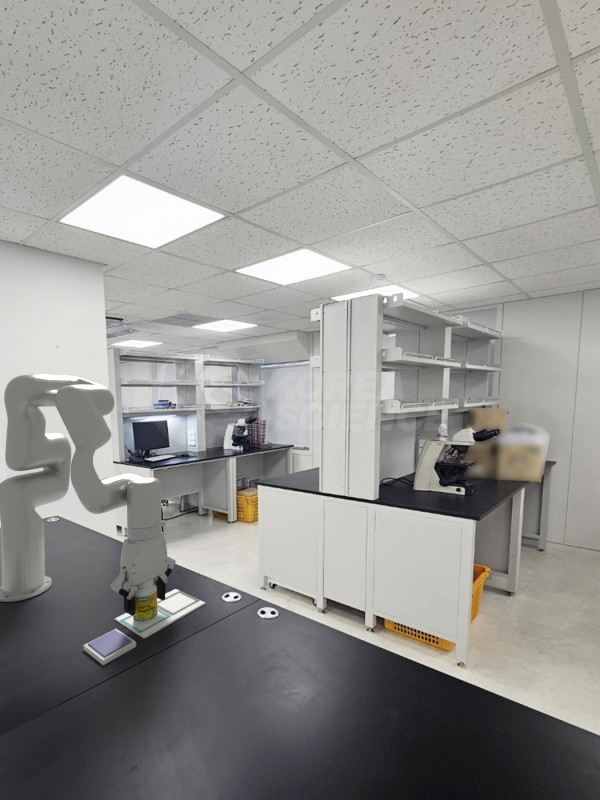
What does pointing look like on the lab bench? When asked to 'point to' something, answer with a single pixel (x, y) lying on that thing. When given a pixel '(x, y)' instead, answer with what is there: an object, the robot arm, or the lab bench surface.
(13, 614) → the lab bench surface
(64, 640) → the lab bench surface
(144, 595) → the supplement bottle
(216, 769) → the lab bench surface
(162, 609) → the print sheet
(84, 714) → the lab bench surface
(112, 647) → the ink pad
